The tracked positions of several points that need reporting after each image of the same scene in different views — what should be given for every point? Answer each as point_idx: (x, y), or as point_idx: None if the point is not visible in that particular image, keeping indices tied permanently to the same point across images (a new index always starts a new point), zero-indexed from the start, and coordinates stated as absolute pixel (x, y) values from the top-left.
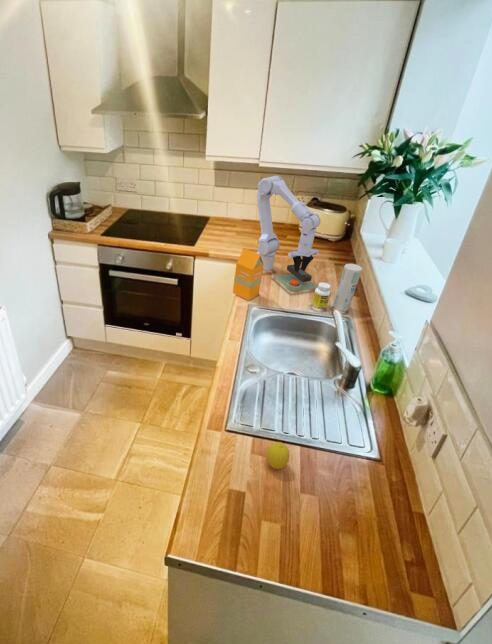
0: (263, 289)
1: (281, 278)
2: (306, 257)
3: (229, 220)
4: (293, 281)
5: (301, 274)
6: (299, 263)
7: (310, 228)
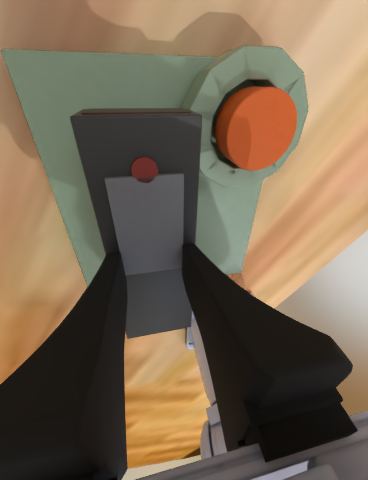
0: (349, 178)
1: (219, 248)
2: (107, 435)
3: (148, 463)
4: (275, 132)
5: (182, 191)
6: (247, 306)
7: None
